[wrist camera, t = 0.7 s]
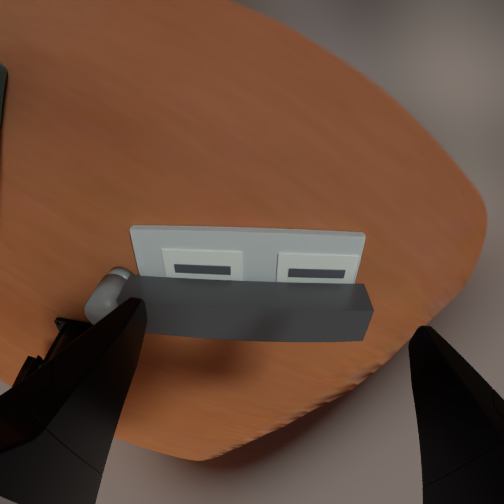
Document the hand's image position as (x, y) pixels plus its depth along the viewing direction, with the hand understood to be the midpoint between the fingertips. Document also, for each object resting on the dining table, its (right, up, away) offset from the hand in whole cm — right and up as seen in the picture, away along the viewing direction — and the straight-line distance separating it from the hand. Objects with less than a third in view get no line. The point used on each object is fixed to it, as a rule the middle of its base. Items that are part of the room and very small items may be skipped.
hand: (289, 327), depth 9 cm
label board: (-3, 0, +14) cm, 14 cm away
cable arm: (-3, -1, +13) cm, 13 cm away
